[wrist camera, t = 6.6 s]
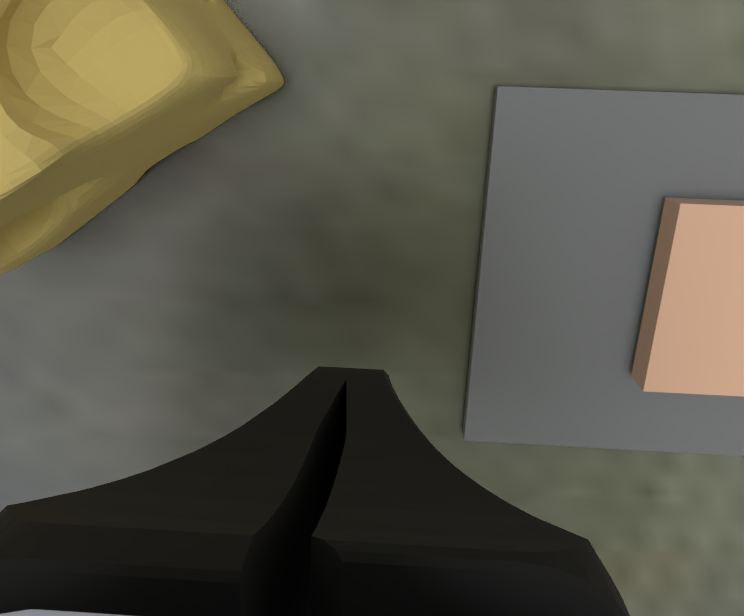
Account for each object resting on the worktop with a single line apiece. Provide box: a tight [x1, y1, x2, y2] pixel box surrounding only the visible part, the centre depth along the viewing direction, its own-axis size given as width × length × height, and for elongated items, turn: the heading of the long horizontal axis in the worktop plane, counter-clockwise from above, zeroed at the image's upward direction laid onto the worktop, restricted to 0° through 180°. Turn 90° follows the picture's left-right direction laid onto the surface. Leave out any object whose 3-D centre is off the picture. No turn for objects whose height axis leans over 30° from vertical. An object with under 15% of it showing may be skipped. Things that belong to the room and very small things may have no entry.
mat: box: [463, 86, 744, 456], centre depth 20 cm, size 12×13×1 cm
